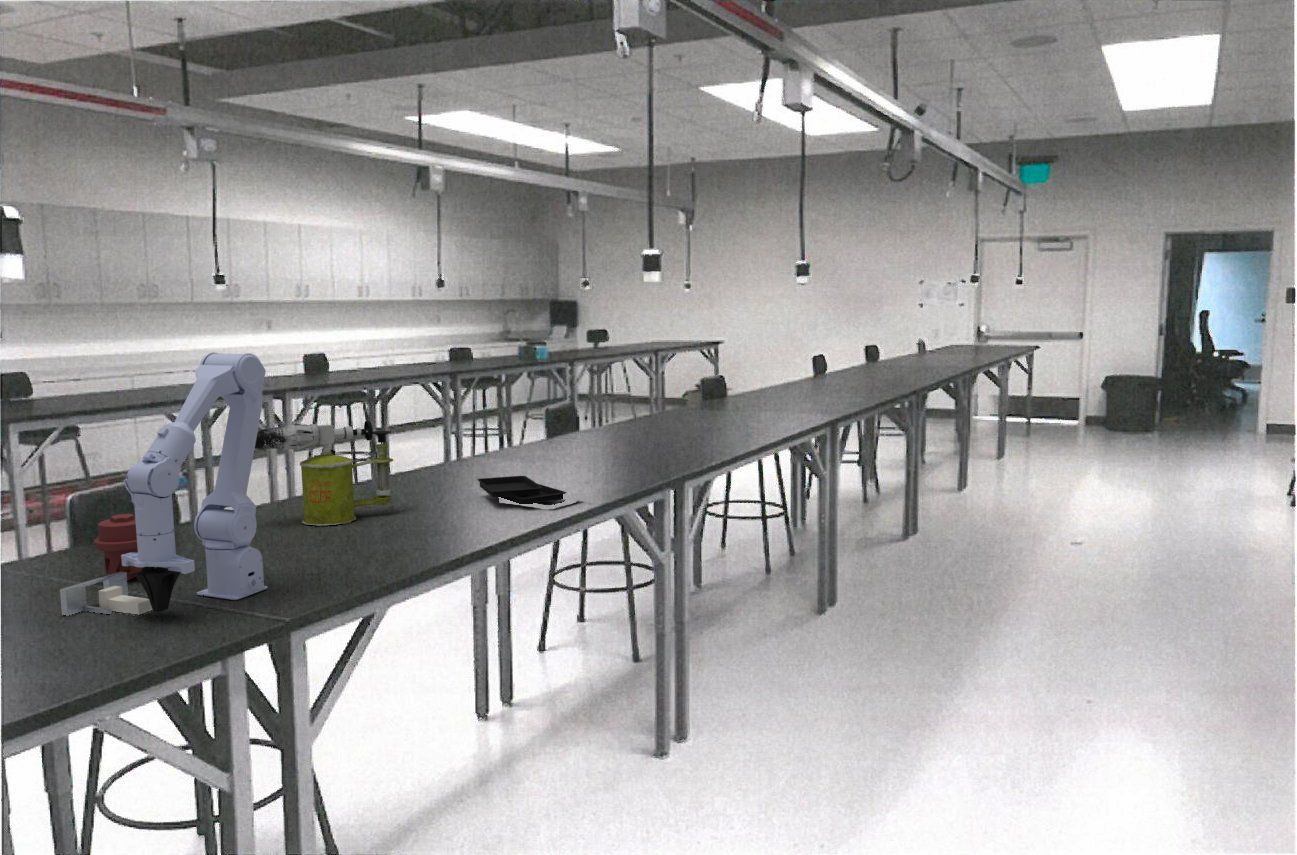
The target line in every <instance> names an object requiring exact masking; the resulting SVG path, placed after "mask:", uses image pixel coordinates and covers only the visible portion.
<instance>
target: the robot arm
mask: <svg viewBox="0 0 1297 855" xmlns="http://www.w3.org/2000/svg"><path fill="white" fill-rule="evenodd" d="M199 363H200V364H199V365H198V366H197V367H196V369H195V377H196V380H195V382H194V384H193V386H192V387H191V390H190V392H189V393H188V395H187V396H186V399H185V401H184V403H183V405H182V407H181V409H180V411H179V412H178V414H177V417H176V419H175V420H174V422H171V423H166V424H164V425H163V426H162V427H160V428H159V429H158V430H157V432H156V437H155V438H154V440H153V442H152V444H151V445H150V446H149V448H148V449H147V452H145V453H144V455H143V457H142V460H141V461H138V462H137V463H134V464H133V465H132V466H131V467H130V468H129V469H128V471H127V473H126V476H125V477H126V478H125V479H124V480H123V485H124V487H125V489H126V491H127V492H128V493H129V495H130V496H131V503H133V506H134V516H135V520H136V534H137V547H138V553H127V554H123V555H121V559H122V566H129V565H130V566H135V567H142V570H141V571H140V572H137V573H136V574H135V575H136V578H135V579H137V581H138V582H139V583H140V585H141V586H142V587H143V589H144V591H145V593H146V595H147V599H149V601H150V604H151V606H152V610H153V611H152V612H156V613H161V612H164V611H166V610H169V609H170V608H169V607H170V601H171V599H172V598H171V597H172V594H173V589H174V588H175V584H176V582H177V580H178V578H179V576H180V575H181V574H184V575H187V574H190V573H193V572H195V571H196V568H195V560H194V559H190V558H186V557H184V556H181V555H178V554H176V553H177V551H176V538H175V537H176V536H175V525H174V524H175V523H174V509H173V495H172V494H173V493H174V492H175V491H176V490H177V489H178V487H179V486H180V481H181V478H180V475H181V471H182V465H183V464H184V462H185V460H186V459H187V457H188V455H189V453H190V452H191V450H192V449H193V447H194V445H195V443H196V442H197V441H196V434H195V432H194V431H196V429H197V427H198V426H199V424H200V423H201V422H202V420H203V419H204V417H205V416H206V415H207V413H208V412H209V411H210V409H212V407H213V405H214V404H215V402H217V400H218V398H220V397H221V398H222V399H223V400H224V401H225V402H226V404H227V405H228V406H229V410H228V415H227V421H226V427H225V431H224V432H225V433H224V436H223V438H224V439H223V443H222V448H221V454H220V458H219V464H218V470H217V476H216V481H215V487H214V489H213V491H212V492H210V493H209V494H208V495H207V496H205V497H204V499H203V500H202V502H201V507H200V510H199V511H198V512H197V514H196V516H195V518H194V521H193V522H194V523H193V530H194V533H195V535H196V537H197V538H198V539H200V540H201V543H202V546H204V547H205V548H204V549H205V563H206V567H205V568H206V576H207V577H206V578H207V580H206V581H207V582H206V583H207V588H205V589H202V590H200V591H197V592H196V595H197V596H203V595H204V596H203V597H210V598H211V597H212V598H218V599H225V600H226V599H227V600H232V601H237V600H241V599H243V598H247V597H248V596H251V595H254V594H257V593H260V592H261V591H264V590H267V589H268V586H267V585H265V583H264V582H265V581H264V580H265V579H264V578H265V577H264V564H263V555H262V554H261V552H260V550H259V549H258V548H255V547H252V546H251V544H252V543H251V542H252V540H253V538H254V537H255V534H256V532H257V525H258V524H257V518H256V512H257V511H256V510H257V505H256V504H255V502H253V501H252V499H251V498H250V497H249V495H247V494H248V493H247V492H248V487H249V481H250V476H251V469H252V465H253V459H254V453H255V450H256V449H255V443H256V438H257V432H258V430H259V426H260V420H261V414H262V409H263V403H264V400H263V388H264V383H265V382H264V381H265V377H266V373H267V372H266V368H265V367H264V365H263V363H262V362H261V360H260V359H259V357H258V356H256V355H255V354H253V353H252V352H251V353H249V352H245V353H219V352H209V353H207V354H205V355H204V356H203V358H202V359H201V361H200V362H199ZM227 508H228V509H227ZM229 508H232V509H229Z"/></svg>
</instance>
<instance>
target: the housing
mask: <svg viewBox="0 0 1297 855" xmlns="http://www.w3.org/2000/svg"><path fill="white" fill-rule="evenodd" d="M98 583H102V584H103V589H106V588H109V587H112V586H119V587H122V594H123V595H126V596H129V590H128V582H127V573H126V572H117V573H114V574H111V575H110V574H106V575H105V576H101V577H97V578H93V579H90V580H87V581H83V582H80V583H76V584H73V585H71V586H66V587H62V588H59V596H60V597H59V598H60V606H61V607H60V608H61V609H60V610H61V616H63V615H66V616H65V617H70V616H73V615H76V614H75V613H77V614H79V613H78V612H80V613H82V612H81V611H83V612H87V611H89V612H88V613H93V612H95V614H100V613H103V614H102V615H106V614H110V615H112V614H111V613H113V612H112V610H111V609H106V608H100V606H92V605H87V604H88V603H87V592H86V587H89V586H93V585H95V584H98ZM72 614H73V615H72ZM69 615H70V616H69Z"/></svg>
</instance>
